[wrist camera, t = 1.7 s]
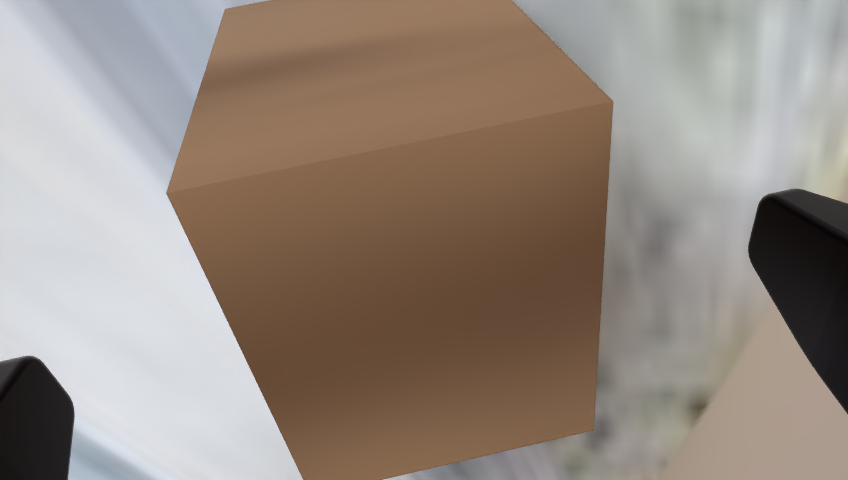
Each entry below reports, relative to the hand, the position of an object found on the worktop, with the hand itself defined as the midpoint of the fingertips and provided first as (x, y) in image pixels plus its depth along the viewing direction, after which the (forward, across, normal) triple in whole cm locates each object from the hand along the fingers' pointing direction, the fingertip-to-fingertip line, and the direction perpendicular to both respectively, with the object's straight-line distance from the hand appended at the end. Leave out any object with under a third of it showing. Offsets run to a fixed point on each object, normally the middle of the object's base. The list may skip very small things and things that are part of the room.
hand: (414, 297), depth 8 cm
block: (+5, 0, 0) cm, 5 cm away
